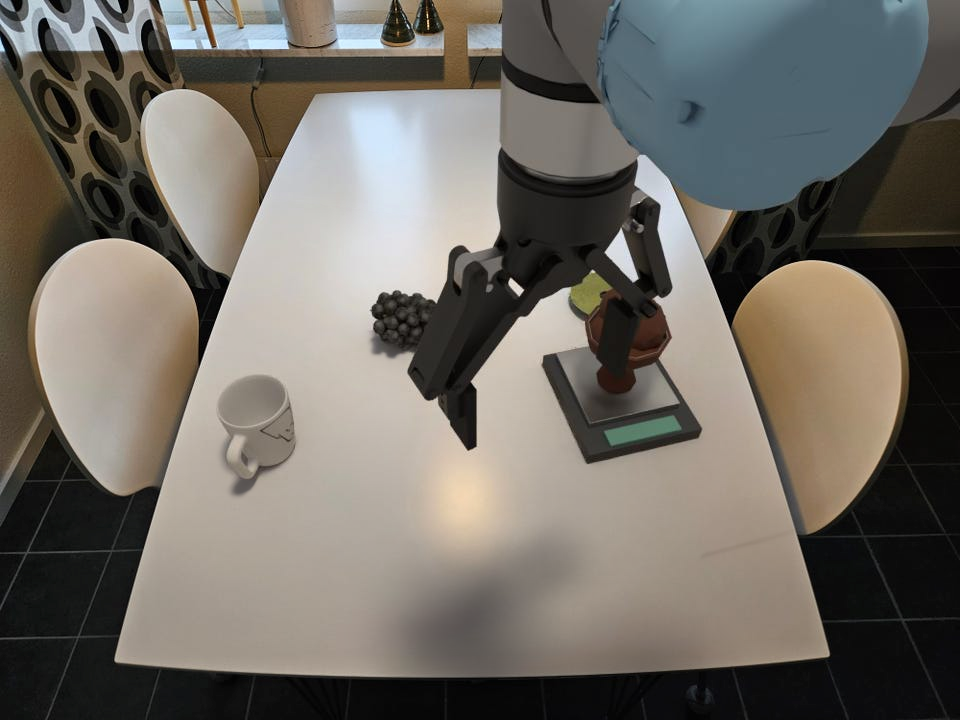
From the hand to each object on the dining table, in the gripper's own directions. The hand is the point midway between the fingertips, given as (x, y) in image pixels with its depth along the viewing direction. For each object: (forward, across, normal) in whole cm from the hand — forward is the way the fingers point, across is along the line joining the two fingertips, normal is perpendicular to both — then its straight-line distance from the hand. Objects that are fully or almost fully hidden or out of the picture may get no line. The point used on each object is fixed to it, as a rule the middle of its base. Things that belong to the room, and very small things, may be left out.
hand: (539, 400), depth 50 cm
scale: (+32, -26, -15) cm, 43 cm away
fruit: (+32, -8, -39) cm, 51 cm away
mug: (+32, +20, -30) cm, 48 cm away
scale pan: (+30, -26, -16) cm, 43 cm away
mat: (+32, -36, -32) cm, 58 cm away
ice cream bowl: (+29, -26, -16) cm, 42 cm away
